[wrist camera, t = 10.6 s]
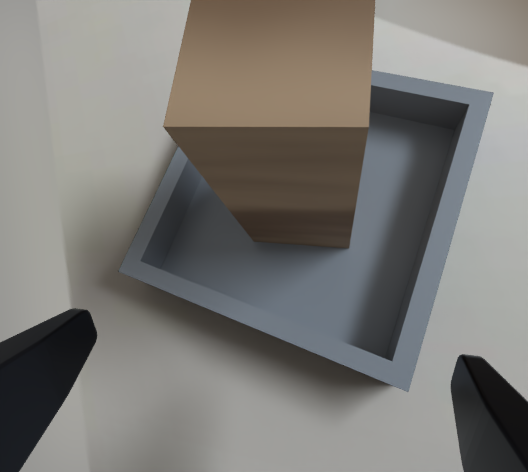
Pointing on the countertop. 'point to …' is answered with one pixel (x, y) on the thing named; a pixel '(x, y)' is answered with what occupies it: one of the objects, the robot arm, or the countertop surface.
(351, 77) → the walnut handle block
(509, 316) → the countertop surface
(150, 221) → the tray
